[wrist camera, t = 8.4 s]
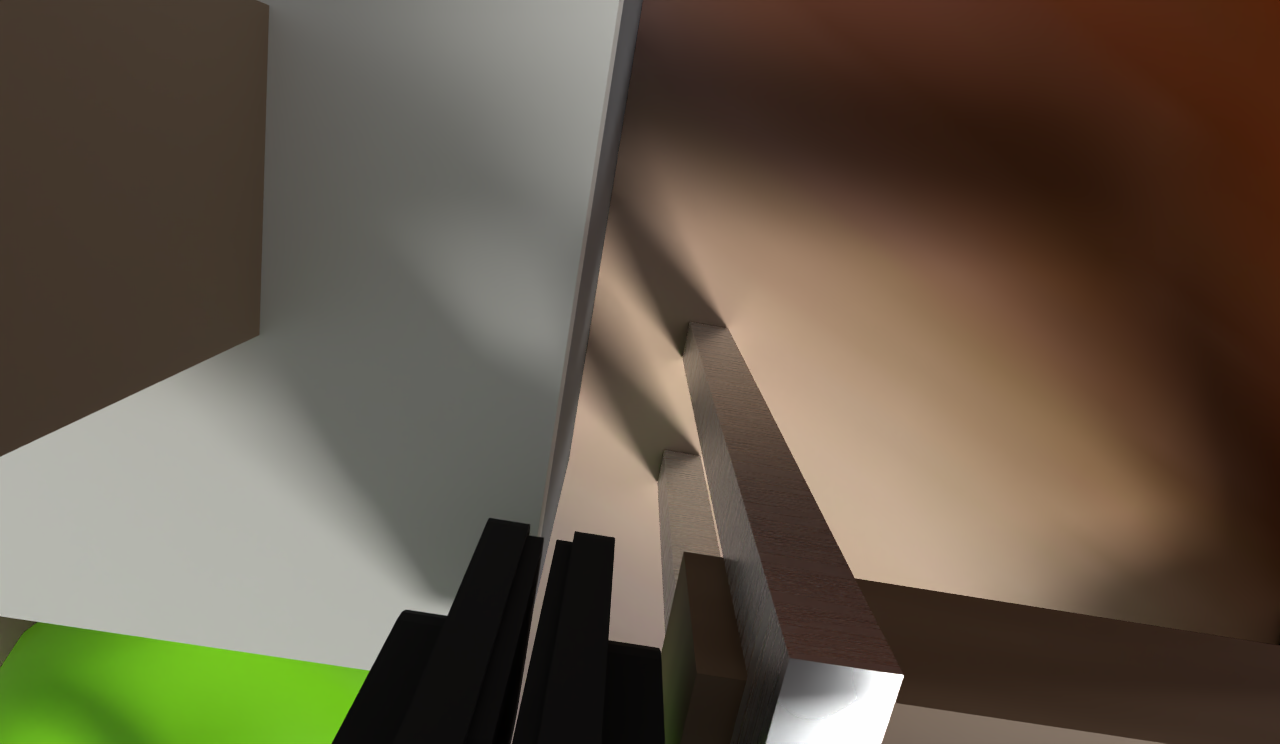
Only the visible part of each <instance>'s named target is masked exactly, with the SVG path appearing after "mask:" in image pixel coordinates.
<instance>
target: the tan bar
mask: <svg viewBox="0 0 1280 744" xmlns="http://www.w3.org/2000/svg"><path fill="white" fill-rule="evenodd" d="M855 580H856V582H857V584H858V586H859V588H860V590H861V592H862V594H863V596H864V598H865V600H866V602H867V604H868V606H869V608H870V610H871V612H872V614H873V616H874V618H875V620H876V622H877V624H878V625H879V627H880V629H881V631H882V633H883V635H884V637H885V639H886V641H887V643H888V645H889V647H890V649H891V651H892V653H893V655H894V657H895V659H896V661H897V663H898V665H899V667H900V669H901V671H902V673H903V675H904V676H903V679H902V682H901V685H900V688H899V691H898V694H897V697H896V700H895V703H894V706H893V709H892V712H891V715H890V718H889V721H888V724H887V727H886V730H885V733H884V736H883V739H882V742H881V744H1280V646H1279V645H1273V644H1266V643H1260V642H1254V641H1248V640H1241V639H1235V638H1229V637H1222V636H1216V635H1210V634H1203V633H1197V632H1191V631H1184V630H1178V629H1172V628H1165V627H1159V626H1153V625H1146V624H1140V623H1134V622H1127V621H1121V620H1115V619H1108V618H1102V617H1096V616H1089V615H1083V614H1077V613H1070V612H1064V611H1058V610H1051V609H1045V608H1039V607H1032V606H1026V605H1020V604H1013V603H1007V602H1001V601H994V600H988V599H982V598H975V597H969V596H963V595H956V594H950V593H944V592H937V591H931V590H925V589H919V588H912V587H906V586H900V585H893V584H887V583H881V582H874V581H868V580H862V579H855ZM661 658H662V680H663V704H664V728H665V744H730V741H731V737H732V734H733V730H734V726H735V722H736V718H737V714H738V710H739V707H740V703H741V699H742V695H743V691H744V687H745V684H746V680H747V676H748V675H747V670H746V665H745V660H744V655H743V650H742V645H741V640H740V636H739V631H738V626H737V621H736V616H735V611H734V606H733V602H732V597H731V592H730V587H729V582H728V577H727V572H726V568H725V563H724V558H722V557H716V556H710V555H703V554H697V553H691V552H683V557H682V561H681V566H680V570H679V575H678V580H677V584H676V589H675V593H674V598H673V603H672V607H671V612H670V616H669V621H668V626H667V630H666V635H665V639H664V644H663V648H662V653H661Z"/></svg>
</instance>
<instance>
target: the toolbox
mask: <svg viewBox="0 0 1280 744" xmlns="http://www.w3.org/2000/svg"><path fill="white" fill-rule="evenodd" d="M642 2H643V0H624V3H623V9H622V16H621V22H620V29H619V35H618V42H617V48H616V55H615V61H614V68H613V74H612V81H611V87H610V94H609V100H608V107H607V113H606V120H605V126H604V133H603V139H602V145H601V152H600V158H599V165H598V171H597V178H596V184H595V191H594V197H593V204H592V210H591V217H590V223H589V230H588V236H587V243H586V249H585V256H584V262H583V269H582V275H581V281H580V288H579V294H578V301H577V307H576V314H575V320H574V327H573V333H572V340H571V346H570V353H569V359H568V366H567V372H566V379H565V385H564V392H563V398H562V405H561V411H560V417H559V424H558V430H557V437H556V443H555V450H554V456H553V463H552V469H551V476H550V482H549V489H548V495H547V502H546V508H545V515H544V521H543V528H542V534H541V537H543V538H544V544H543V551H542V557H541V564H540V570H539V576H538V583H537V589H536V595H537V591H538V587H539V583H540V579H541V574H542V570H543V566H544V562H545V557H546V553H547V549H548V545H549V541H550V536H551V532H552V528H553V524H554V520H555V515H556V511H557V507H558V503H559V498H560V494H561V490H562V486H563V482H564V477H565V473H566V469H567V465H568V461H569V455H570V449H571V443H572V437H573V430H574V424H575V418H576V412H577V406H578V399H579V393H580V387H581V381H582V375H583V368H584V362H585V356H586V350H587V344H588V337H589V331H590V325H591V319H592V312H593V306H594V300H595V294H596V288H597V281H598V275H599V269H600V263H601V257H602V250H603V244H604V238H605V232H606V226H607V219H608V213H609V207H610V201H611V195H612V188H613V182H614V176H615V170H616V163H617V157H618V151H619V145H620V139H621V132H622V126H623V120H624V114H625V108H626V101H627V95H628V89H629V83H630V77H631V70H632V64H633V58H634V52H635V45H636V39H637V33H638V27H639V21H640V14H641V8H642ZM683 364H684V368H685V373H686V378H687V383H688V388H689V393H690V398H691V402H692V407H693V412H694V417H695V422H696V427H697V432H698V436H699V441H700V446H701V451H702V456H703V461H704V466H705V470H706V475H707V480H708V485H709V490H710V495H711V500H712V504H713V509H714V514H715V519H716V524H717V529H718V534H719V538H720V543H721V548H722V553H723V558H724V563H725V568H726V572H727V577H728V582H729V587H730V592H731V597H732V602H733V606H734V611H735V616H736V621H737V626H738V631H739V636H740V640H741V645H742V650H743V655H744V660H745V665H746V670H747V675H748V676H747V680H746V684H745V687H744V691H743V695H742V699H741V703H740V707H739V710H738V714H737V718H736V722H735V726H734V730H733V734H732V737H731V741H730V744H881V742H882V739H883V736H884V733H885V730H886V727H887V724H888V721H889V718H890V715H891V712H892V709H893V706H894V703H895V700H896V697H897V694H898V691H899V688H900V685H901V682H902V679H903V676H904V675H903V673H902V671H901V669H900V667H899V665H898V663H897V661H896V659H895V657H894V655H893V653H892V651H891V649H890V647H889V645H888V643H887V641H886V639H885V637H884V635H883V633H882V631H881V629H880V627H879V625H878V624H877V622H876V620H875V618H874V616H873V614H872V612H871V610H870V608H869V606H868V604H867V602H866V600H865V598H864V596H863V594H862V592H861V590H860V588H859V586H858V584H857V582H856V580H855V578H854V576H853V574H852V572H851V570H850V568H849V566H848V564H847V562H846V560H845V558H844V556H843V554H842V552H841V550H840V548H839V546H838V545H837V543H836V541H835V539H834V537H833V535H832V533H831V531H830V529H829V527H828V525H827V523H826V521H825V519H824V517H823V515H822V513H821V511H820V509H819V507H818V505H817V503H816V501H815V499H814V497H813V495H812V493H811V491H810V489H809V487H808V485H807V483H806V481H805V479H804V477H803V475H802V473H801V471H800V469H799V467H798V466H797V464H796V462H795V460H794V458H793V456H792V454H791V452H790V450H789V448H788V446H787V444H786V442H785V440H784V438H783V436H782V434H781V432H780V430H779V428H778V426H777V424H776V422H775V420H774V418H773V416H772V414H771V412H770V410H769V408H768V406H767V404H766V402H765V400H764V398H763V396H762V394H761V392H760V390H759V388H758V387H757V385H756V383H755V381H754V379H753V377H752V375H751V373H750V371H749V369H748V367H747V365H746V363H745V361H744V359H743V357H742V355H741V353H740V351H739V349H738V347H737V345H736V343H735V341H734V339H733V337H732V335H731V333H730V331H729V329H728V328H723V327H718V326H712V325H706V324H700V323H695V322H690V324H689V329H688V334H687V339H686V344H685V349H684V354H683ZM658 502H659V522H660V541H661V561H662V580H663V600H664V619H665V635H666V630H667V626H668V621H669V616H670V612H671V607H672V603H673V598H674V593H675V589H676V584H677V580H678V575H679V570H680V566H681V561H682V557H683V552H691V553H697V554H703V555H710V556H716V557H720V551H719V546H718V541H717V536H716V531H715V526H714V521H713V516H712V511H711V506H710V501H709V496H708V491H707V486H706V481H705V476H704V471H703V466H702V461H701V456H698V455H692V454H686V453H680V452H674V451H668V450H664V453H663V458H662V463H661V468H660V473H659V478H658ZM536 595H535V600H536ZM534 604H535V602H534Z"/></svg>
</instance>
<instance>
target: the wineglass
mask: <svg viewBox="0 0 1280 744" xmlns="http://www.w3.org/2000/svg"><path fill="white" fill-rule="evenodd" d="M368 673H369V670H363V669H356V668H349V667H342V666H335V665H328V664H322V663H315V662H308V661H301V660H294V659H288V658H281V657H274V656H267V655H260V654H254V653H247V652H240V651H233V650H226V649H220V648H213V647H206V646H199V645H192V644H186V643H179V642H172V641H165V640H158V639H152V638H145V637H138V636H131V635H124V634H117V633H111V632H104V631H97V630H90V629H83V628H77V627H70V626H63V625H56V624H49V623H43V622H37V623H35V624H34V625H33V626H32V627H30V628H29V629H28V630H26V631H25V632H24V633H23V634H22V636H21V637H20V638H19V640H18V641H17V643H16V644H15V646H14V647H13V649H12V650H11V652H10V653H9V655H8V657H7V658H6V660H5V661H4V663H3V664H2V666H1V667H0V744H332V742H333V740H334V738H335V736H336V734H337V732H338V730H339V728H340V727H341V725H342V723H343V721H344V719H345V717H346V715H347V713H348V711H349V709H350V708H351V706H352V704H353V702H354V700H355V698H356V696H357V694H358V692H359V690H360V689H361V687H362V685H363V683H364V681H365V679H366V677H367V675H368Z"/></svg>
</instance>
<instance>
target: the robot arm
mask: <svg viewBox="0 0 1280 744" xmlns="http://www.w3.org/2000/svg"><path fill="white" fill-rule="evenodd" d="M543 544H544V538H543V537H537V536H531V535H530V524H526V523H520V522H513V521H507V520H501V519H495V518H489V519H488V521H487V523H486V525H485V527H484V530H483V532H482V535H481V537H480V539H479V542H478V544H477V547H476V549H475V551H474V554H473V556H472V558H471V561H470V563H469V566H468V568H467V570H466V573H465V575H464V577H463V580H462V582H461V585H460V587H459V589H458V592H457V594H456V596H455V599H454V601H453V604H452V606H451V608H450V611H449V613H448V615H447V616H446V615H439V614H433V613H426V612H420V611H413V610H404V611H402V612H401V614H400V615H399V617H398V618H397V620H396V622H395V624H394V626H393V628H392V630H391V632H390V633H389V635H388V637H387V639H386V641H385V643H384V645H383V647H382V649H381V651H380V652H379V654H378V656H377V658H376V660H375V662H374V664H373V666H372V668H371V670H370V671H369V673H368V675H367V677H366V679H365V681H364V683H363V685H362V687H361V689H360V690H359V692H358V694H357V696H356V698H355V700H354V702H353V704H352V706H351V708H350V709H349V711H348V713H347V715H346V717H345V719H344V721H343V723H342V725H341V727H340V728H339V730H338V732H337V734H336V736H335V738H334V740H333V742H332V744H511V740H512V735H513V730H514V725H515V720H516V715H517V709H518V703H519V697H520V691H521V684H522V678H523V672H524V665H525V659H526V653H527V646H528V640H529V633H530V627H531V621H532V614H533V608H534V602H535V595H536V589H537V583H538V576H539V570H540V564H541V557H542V551H543ZM614 547H615V538H613V537H607V536H601V535H595V534H588V533H582V532H576V531H575V533H574V539H573V542H568V541H562V540H557V541H556V545H555V550H554V555H553V559H552V564H551V568H550V573H549V577H548V582H547V587H546V591H545V596H544V600H543V605H542V609H541V614H540V619H539V623H538V628H537V632H536V637H535V641H534V646H533V651H532V655H531V660H530V664H529V669H528V673H527V678H526V683H525V687H524V692H523V696H522V701H521V705H520V710H519V715H518V719H517V724H516V728H515V733H514V737H513V742H512V744H665V728H664V704H663V680H662V658H661V651H660V649H659V648H655V647H649V646H642V645H636V644H629V643H622V642H616V641H609V640H608V636H609V622H610V607H611V592H612V577H613V562H614Z"/></svg>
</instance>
